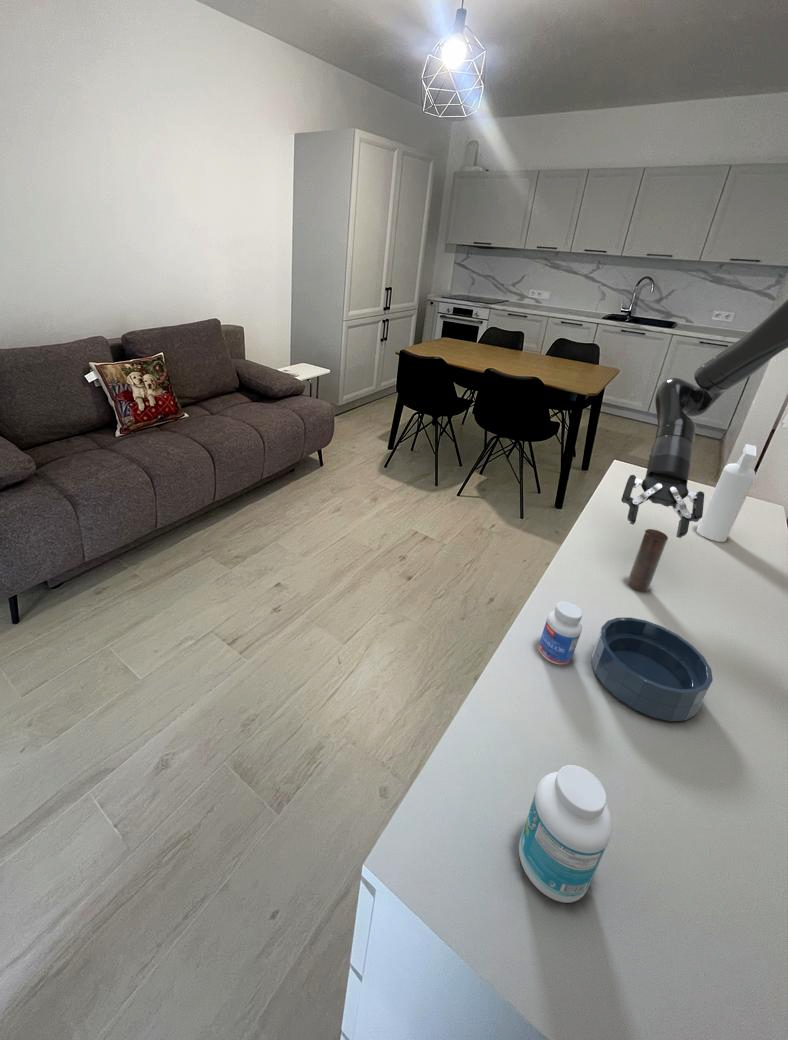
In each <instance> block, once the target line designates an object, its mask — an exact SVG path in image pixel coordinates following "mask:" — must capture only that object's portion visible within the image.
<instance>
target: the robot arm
mask: <svg viewBox="0 0 788 1040" xmlns="http://www.w3.org/2000/svg"><path fill="white" fill-rule="evenodd" d="M786 349H788V298H787V299H785V301H783V303H782V304H780V305H779V306H778V307H777V308H776V309H775V310H774V311H773V312H772V313H771V314H770V315H769V316H768V317H766V318H765V319H764V320H763V321H762V322H760V323H759V324H758V325H757V326H756V327H754V329H752V330H751V331H750V332H748V333H747V334H746V335H744V336H743V337H742V338H740V339H739V340H737V341H736V342H734V343H733V344H731V345H730V346H728V347H726V349H724V350H723V351H721V352H719V353H718V354H716V355H715V356H713V357H712V358H711V359H710V360H708V361H706V362H705V363H703V364H702V365H700V366H699V367H698V368H697V369H696V370H695V372H694V374H693V375H694V376H693V377H694V381H695V383H696V384H697V385H696V384H693V383H691V382H688V381H687V380H685V379H682V378H680V377H670V378H667V379H666V380H664V381H663V382H662V383H661V384H660V385H659V386H658V388H657V391H656V394H655V398H654V399H655V401H654V402H655V403H654V404H655V409H656V410H655V411H656V419H657V430H656V434H655V438H654V442H653V445H652V447H651V451H650V454H649V460H648V464H647V468H646V473H645V477H644V479H641V478H638V477H636V475H635V474H630V475H629V477H628V479H627V481H626V484H625V486H624V489H623V493H622V496H621V502H622V503H623V504H626V505H628V507H629V508H628V513H627V517H626V518H627V521H629V524H630V525H635V523H636V522H637V517H638V512H639V509H640V505H642V504H643V505H644V504H645V503H646V502H647V501H650V502H651V503H652V504H656V505H657V504H658V505H661V506H664V507H667V508H669V507H672V509H673V511H674V512H675V513H676V514H677V516H678V517H679V519H680V520H679V521H678V525H677V529H676V538H679V539H682V537H685V536H686V535H687V534H688V532H689V527H690V522H694V523H697V522H700V520H701V519H702V517H703V514H704V504H705V493H704V491H702V490H701V491H697V492H696V491H691V490H689V489H688V482H689V481H688V480H689V476H690V471H691V467H692V460H693V455H694V451H693V449H694V442H695V438H696V433H697V432H696V431H697V425H696V423H695V421H694V420H693V419H691V418H697V417H698V418H699V417H701V416H702V415H704V414H706V412H707V411H708V410H710V408H711V407H712V406H713V405H714V404H715V403H716V401H717V400H719V399H720V398H721V397H722V395H724V393H726V392H727V391H728V390H730V389H731V388H733V387H735V386H737V385H739V383H741V382H743V381H745V380H747V379H748V378H750V377H751V376H752V375H754V374H755V373H757V372H758V371H759V370H760V369H761V368H763V367H764V366H765V365H766V364H767V363H768V362H769V361H770V360H772V359H773V358H775V356H777V355H778V354H780V353H782V352H783V351H785V350H786ZM638 486H641V488H642V490H643V493H641V494H639V496H637V497H635V498H633V497H632V496H631V495H632V492H633V490H634V489H636V488H637V487H638ZM685 498H689V501H690V503H692V508H691V509H692V511H691V512H690V511H689V509H688V507H687V504H686V502H685V500H684V499H685Z"/></svg>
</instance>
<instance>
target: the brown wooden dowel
mask: <svg viewBox="0 0 788 1040" xmlns="http://www.w3.org/2000/svg"><path fill="white" fill-rule="evenodd" d="M668 539H669V537H668V535H667V534H665V533H664V532H662V531H661V530H657V529H653V528H647V529H645V531H644V534H643V535H642V539H641V542H640V544H639V547H638V550H637V553H636V556H635V558H634V561H633V564H632V567H631V570H630V573H629V575H628V578H627V581H626V584H627V586H629V587H630V588H631V589H633V590H634V591H637V592H639V593H646V592H648V591H649V590H650V587H651V584H652V581H653V579H654V577H655V574H656V571H657V568H658V566H659V563H660V561H661V557H662V555H663V553H664V551H665V548H666V545H667V543H668Z"/></svg>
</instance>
